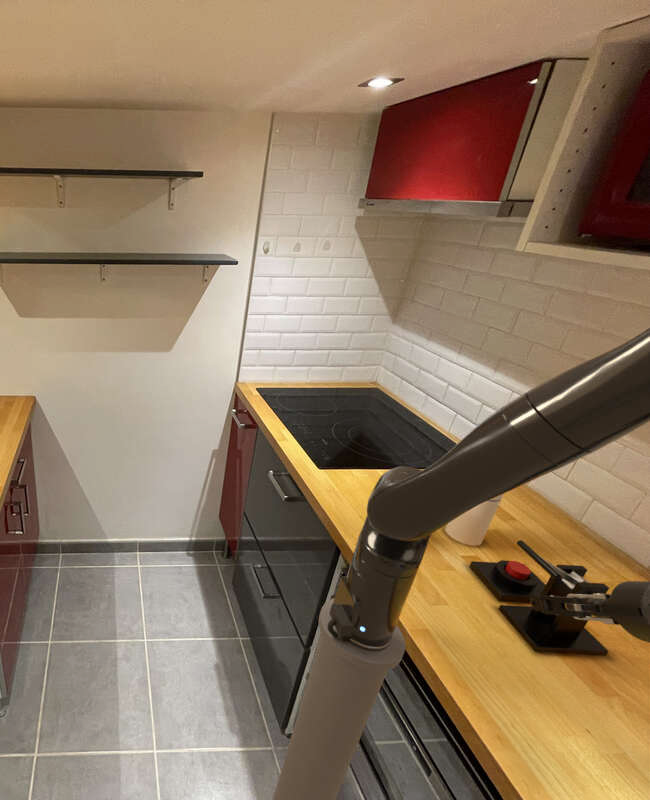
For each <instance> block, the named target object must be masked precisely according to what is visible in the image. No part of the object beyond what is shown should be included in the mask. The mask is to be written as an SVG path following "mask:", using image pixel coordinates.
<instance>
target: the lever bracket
mask: <svg viewBox="0 0 650 800" xmlns="http://www.w3.org/2000/svg"><path fill="white" fill-rule="evenodd" d="M556 566H557V567H558V568H560V569H561V570H563V571H565V572H566V573H568V574H570V573H571V572H573V571H574V572H575V573H577V574H578V575H580V576H582V577H583V578H585V575H586V573H587V572H588V569H587V568H586V567H585V566H584V565H574V564H556ZM561 579H563V578H560V579H557V580H556V579H554V578H553V577H552V576H551V575H549V579H548V580H547V582H546V585H545V587H544V589H543V591H542V593H541V594H540V596H541V595H546V596H550V595H554V596H555V597H567V595H568V594H583V595H593V594H595V593H599V594H608V591H609V590H610V587H609V586H608V585H606V584H605V583H602V582H601V583H600V582H589V583H584V582H577V583H576V585H575V586H574V588H573V590H572V589H571V588H570V587H569V586H567V585H566V584H565V583H564V582H563V581H562V580H561ZM586 599H587V598H581V600H582V603H583V604H584V601H585V600H586ZM498 611H499V612H500V613H501V614H502V615H503V616H504V618H505V619H506V620H507V621H508V622H509V623H510V625H512V627H513V628H514V629H515V630H516V631H517V633H518V634H519V635H520V636H521V637H522V638H523V639H524V641H525V642H526V644H528V645H529V647H530V648H531V649H532V650H533V651H534V652H535V653H550V654H566V655H568V654H569V655H585V656H598V657H599V656H600V657H606V656H607V655H608V654H609V650H608V649H607V648H606V647H605V646H604V645H603V643H601V642H600V641H599V640H598V639H597V638H596V637H595V636H594V635H593V634H592V633H591V632H590V631H589V630H588V629H587V628H586V626H587V624H588V622H589V621H590V620H578V619H575V618H573V616H563V615H554V614H551V615H546V614H545V613H543V612H542V611H535V610H533V608H532V606H527V605H510V604H499V607H498ZM585 613H586V616H591V617H593V616H592V615H590V614H588V613H587V612H585Z"/></svg>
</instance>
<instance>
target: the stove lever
mask: <svg viewBox="0 0 650 800" xmlns="http://www.w3.org/2000/svg"><path fill="white" fill-rule="evenodd" d="M516 545H517V546H518V547H519V548H520V549H521V550H522V551H524V552H525V554H526V555H528V556H529V558H531V559H532V560H533V561H534V562H535V563H537V565H539V567H541V568H542V570H544V571H545V572H546V573H547V574H548V575H549V576H552V577H553V578H554V579H556V580H557V579H560V578H563V579H561V580H562V581H563V582H564V583H565V584H566V585H567V586H569V587H570V588H571V589H572V590H573V588H574V586H575V585H576V583H577V582H584V583H590V581H588V580H587V579H586V578H585V577H582V576H580V575H578V574H577V573H575V572H574V571H573V572H571V573H570V574H568V573H566V572H565V571H563V570H561V569H560V568H558V567H557V565H556V564H553V563H552V562H550V561H548V560H547V559H545V558H543V557H542V556H540V555H539V554H538V553H537V552H536V551H535V550H534V549H533V548H532V547H531V546H529V545H528V544H527V543H526V542H525V541H524V540H521V539H520V540H517V541H516Z"/></svg>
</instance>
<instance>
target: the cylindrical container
mask: <svg viewBox="0 0 650 800" xmlns="http://www.w3.org/2000/svg"><path fill="white" fill-rule="evenodd" d="M504 495H505V493H504V494H502V495H499V496H497V497H495V498H492V499H490V500H488V501H486V502H483V503H481V504H479V505H478V506H476V507H474V508H472V509H470V510H469V511H467V512H465V513H464V514H462V515H460V516H459V517H457V518H456V519H454V520H452V521H451V522H449V523H448V524H446V525H445V528H444V529H445V532H446V534H447V535H448V536H449V537H450V538H451V539H453V540H455V541H456V542H459V543H461V544H463V545H467V546H476V547H477V546H480V545H481V544H482V543H483V541H484V539H485V536H486V534H487V532H488V531H489V528H490V525H491V523H492V521H493V519H494V517H495V515H496V513H497V510H498V508H499V505H500V504H501V501H502V499H503V497H504Z"/></svg>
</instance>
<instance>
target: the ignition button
mask: <svg viewBox="0 0 650 800" xmlns="http://www.w3.org/2000/svg"><path fill="white" fill-rule="evenodd" d="M508 561H509V562H508V564H507V566H506V568H505V571H506V572H507V573H508V574H510V575H511V576H513V577H515V578H517V579H520V580H527V579H528V577H529V575H530V573H531V571H532V570H531V569H530V568H529V567H528V566H527V565H526V564H525V563H522V562H520V561H516V560H508ZM524 564H525V565H524ZM530 570H531V571H530Z"/></svg>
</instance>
